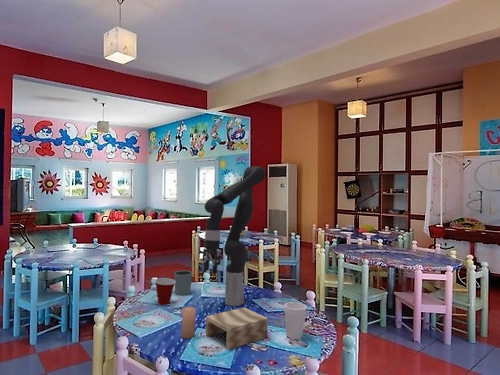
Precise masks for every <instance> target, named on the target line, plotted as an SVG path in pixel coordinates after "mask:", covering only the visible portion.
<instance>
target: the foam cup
mask: <svg viewBox="0 0 500 375" xmlns="http://www.w3.org/2000/svg"><path fill="white" fill-rule="evenodd" d="M307 308H308V306H307V305H306V304H305V303H302V302H295V301H292V302H286V303H284V306H283V311H284V320H285V329H286V330H285V332H286V337H287V336H288V337H289V338H291V339H290V340H292V339H299V340H301V339H302V337H303V334H304V329H305V328H304V327H305V321H306V315H307ZM288 337H287V338H288ZM289 338H288V339H289ZM300 338H301V339H300Z"/></svg>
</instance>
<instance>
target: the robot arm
mask: <svg viewBox="0 0 500 375" xmlns="http://www.w3.org/2000/svg"><path fill="white" fill-rule="evenodd" d="M242 176H243V177H242V180H239V181H238V182H235V183H233V184H231V185H229V186H228V187H226V188H225V189H224V190H222V191H221V192H220V193H218V194H216V195H214V196H213V197H210V198H209V199H207V201H206V202H205V203H204V209H205V211H206V212H207V213H209V214H210V216H209V218H207V219H206V223H205V224H206V225H205V233H204V249H203V250H202V251H203V252H202V261H203V263H204V269H203V270H205V271H209V270H210V262H211V264H212V274H217V273H218V266H220V265H221V251H220V252H218V250H219V249H220V243H221V231H220V230H221V221H222V219H223V218H222V217H223V214H224V210H225V205H229V204H230V203H232V202H234V200H236V198H238V201H237V204H236V207H235V211H234V217H233V220H232V223H231V226H230V230H229V232H228V235H227V239H226V240H225V243H224V249H223V251H224V254H225V256H227V257H229V258H231V259H230V263H229V264H227V265H226V267H225V269H226V270H225V287H224V288H225V290H224V292H225V293H224V295H225V296H224V304H225V305H226V306H230V307H238V306H241V305H243V304H245V285H244V268H245V266H246V259H247V246H246V245H245V243H244V242H242V241H240V238H241V235H242V233H243V231H244V229H245V228H246V227H247V226H248V224H249V223H250V221H251V219H252V216H253V212H254V209H255V208H254V206H255V205H254V199H253V190H254V189H253V188H254V187H255V186H257V185H258V184H260V183H262V182H263V181H264V180H265V179H266V170H265V169H264V168H263V167H262V166H248V167H246V168H245V170H244V172H243V175H242Z"/></svg>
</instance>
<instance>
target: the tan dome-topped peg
mask: <svg viewBox="0 0 500 375" xmlns="http://www.w3.org/2000/svg"><path fill="white" fill-rule="evenodd" d="M196 309H197V308H195V307H193V306H185V307H183V308H182V313H181V314H182V316H181V336H180V337H182V338H183V339H192V338H194V337H195V336H196V315H197V314H196V313H197V312H196Z"/></svg>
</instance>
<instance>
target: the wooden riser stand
mask: <svg viewBox="0 0 500 375" xmlns="http://www.w3.org/2000/svg"><path fill="white" fill-rule="evenodd" d="M205 319H206V320H205V336H206V337H211V336H216V335H219V334H222V332H223V333H226V337H225V338H226V343H225V348H226V350H228V351H230V350H233V349H236V348H238V347H241V346H244V345H248V344H251V343H253V342H254V343H255V342H256V341H257V342H258V341H261V340H263V338H264V339H267V338H268V327H269V326H268V325H269V318H268V317H266V316H264V315H261V314H259V313H258V312H255V311H253V310H251V309H248V308H246V307H239V308H235V309H231V310H228V311H222V312H219V313H214V314H211V315H206V317H205ZM218 333H219V334H218ZM266 337H267V338H266ZM260 339H261V340H260Z"/></svg>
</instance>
